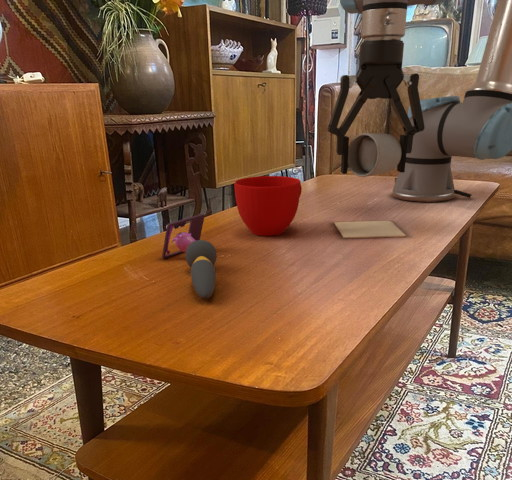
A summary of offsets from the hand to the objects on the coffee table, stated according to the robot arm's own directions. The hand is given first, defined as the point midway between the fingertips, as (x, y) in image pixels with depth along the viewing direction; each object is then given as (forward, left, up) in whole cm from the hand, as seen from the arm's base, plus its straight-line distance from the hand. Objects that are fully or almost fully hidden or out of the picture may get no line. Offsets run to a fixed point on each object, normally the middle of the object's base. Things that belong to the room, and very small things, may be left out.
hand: (372, 172), depth 100 cm
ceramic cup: (+19, -2, -12) cm, 22 cm away
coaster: (0, 0, -11) cm, 11 cm away
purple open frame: (+35, +14, -12) cm, 39 cm away
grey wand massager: (+31, +28, -12) cm, 43 cm away
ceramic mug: (+1, 0, -1) cm, 1 cm away
